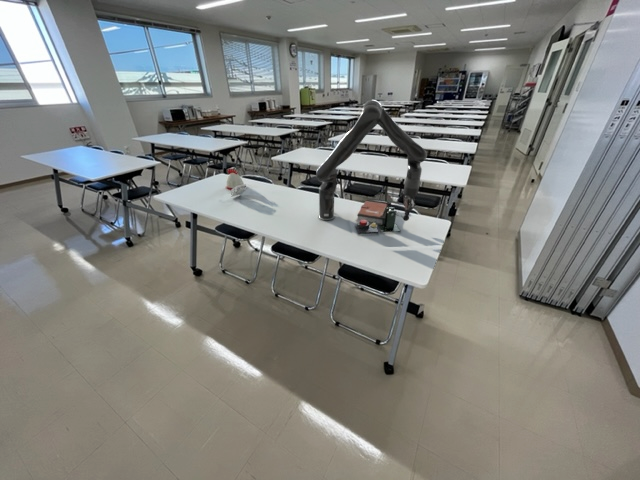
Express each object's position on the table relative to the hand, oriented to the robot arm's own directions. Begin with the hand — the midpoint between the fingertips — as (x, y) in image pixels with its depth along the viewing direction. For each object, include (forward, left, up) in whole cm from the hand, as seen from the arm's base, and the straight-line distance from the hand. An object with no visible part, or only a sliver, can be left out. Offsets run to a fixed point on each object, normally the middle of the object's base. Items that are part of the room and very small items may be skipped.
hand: (406, 215), depth 150 cm
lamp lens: (+3, -19, -5) cm, 20 cm away
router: (-50, -120, -9) cm, 130 cm away
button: (-1, -24, -5) cm, 25 cm away
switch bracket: (0, -9, -9) cm, 13 cm away
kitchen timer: (-80, -115, -9) cm, 141 cm away
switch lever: (0, -5, -1) cm, 5 cm away
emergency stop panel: (+1, -22, -9) cm, 24 cm away
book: (-20, -13, -9) cm, 26 cm away
